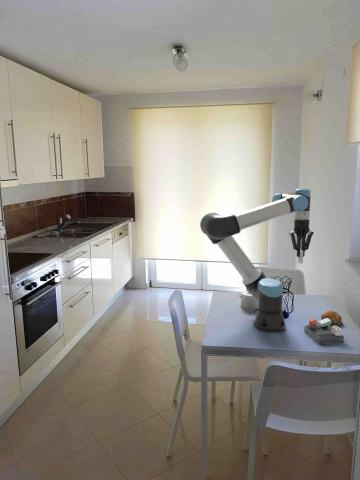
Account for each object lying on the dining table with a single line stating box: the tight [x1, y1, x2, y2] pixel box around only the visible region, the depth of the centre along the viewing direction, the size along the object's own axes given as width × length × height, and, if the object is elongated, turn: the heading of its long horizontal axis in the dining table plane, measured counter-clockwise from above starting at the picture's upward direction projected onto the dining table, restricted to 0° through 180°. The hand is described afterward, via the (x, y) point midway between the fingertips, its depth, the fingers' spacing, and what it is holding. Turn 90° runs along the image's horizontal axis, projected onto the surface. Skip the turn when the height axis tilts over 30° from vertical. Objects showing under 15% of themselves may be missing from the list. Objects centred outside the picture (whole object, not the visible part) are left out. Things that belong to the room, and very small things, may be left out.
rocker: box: [317, 318, 332, 327], centre depth 181 cm, size 5×4×2 cm
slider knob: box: [331, 325, 342, 336], centre depth 172 cm, size 2×4×4 cm, turn 9°
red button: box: [308, 318, 318, 326], centre depth 180 cm, size 4×4×2 cm
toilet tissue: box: [239, 290, 258, 311], centre depth 218 cm, size 9×13×9 cm
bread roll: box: [320, 310, 343, 327], centre depth 193 cm, size 10×10×8 cm
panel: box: [303, 324, 345, 345], centre depth 177 cm, size 12×14×4 cm
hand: (300, 262), depth 202 cm, fingers closed
